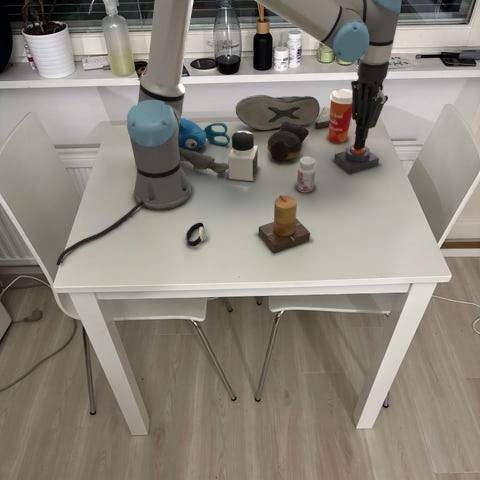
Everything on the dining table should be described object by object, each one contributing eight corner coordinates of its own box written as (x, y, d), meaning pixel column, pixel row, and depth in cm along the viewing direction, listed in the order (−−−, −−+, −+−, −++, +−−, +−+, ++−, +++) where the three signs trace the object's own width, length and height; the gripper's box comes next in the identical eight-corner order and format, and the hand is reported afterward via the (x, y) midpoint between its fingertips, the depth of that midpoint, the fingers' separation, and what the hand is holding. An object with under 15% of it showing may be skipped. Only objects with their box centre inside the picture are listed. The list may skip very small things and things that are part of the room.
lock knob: (298, 232, 114) (301, 203, 108) (280, 238, 113) (281, 209, 107) (288, 220, 118) (290, 192, 111) (269, 226, 116) (270, 198, 110)
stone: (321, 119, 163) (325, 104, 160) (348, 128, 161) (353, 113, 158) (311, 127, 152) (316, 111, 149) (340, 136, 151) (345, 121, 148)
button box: (349, 173, 135) (351, 161, 132) (333, 160, 140) (335, 148, 137) (378, 164, 138) (380, 152, 135) (361, 152, 143) (364, 140, 140)
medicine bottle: (253, 181, 134) (253, 141, 125) (228, 179, 135) (227, 139, 126) (257, 168, 138) (258, 128, 129) (234, 166, 139) (232, 126, 130)
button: (355, 160, 135) (356, 153, 134) (347, 153, 138) (348, 147, 136) (367, 156, 137) (368, 149, 135) (358, 150, 139) (360, 143, 137)
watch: (202, 249, 115) (201, 237, 112) (183, 247, 115) (182, 235, 113) (208, 230, 120) (208, 218, 117) (190, 228, 120) (189, 216, 118)
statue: (139, 158, 143) (225, 193, 136) (136, 135, 137) (226, 170, 130) (153, 146, 147) (237, 180, 140) (151, 124, 141) (239, 157, 134)
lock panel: (275, 255, 113) (275, 246, 111) (257, 233, 119) (257, 224, 117) (310, 242, 116) (311, 233, 114) (291, 221, 121) (292, 213, 119)
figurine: (291, 169, 138) (307, 145, 148) (295, 147, 133) (312, 124, 142) (260, 158, 140) (278, 136, 149) (264, 137, 135) (282, 115, 144)
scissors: (226, 122, 142) (172, 122, 151) (224, 124, 141) (170, 124, 150) (231, 143, 146) (178, 142, 155) (229, 145, 146) (177, 144, 155)
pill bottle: (293, 190, 131) (295, 162, 124) (300, 181, 133) (302, 154, 127) (309, 194, 129) (312, 166, 123) (316, 185, 132) (319, 158, 125)
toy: (211, 127, 148) (200, 157, 152) (156, 102, 145) (146, 133, 149) (208, 132, 137) (196, 165, 142) (148, 105, 134) (138, 139, 139)
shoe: (236, 131, 151) (231, 120, 160) (318, 128, 154) (309, 117, 164) (236, 97, 145) (231, 87, 154) (322, 94, 148) (312, 84, 157)
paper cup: (320, 136, 150) (325, 91, 139) (341, 130, 152) (347, 85, 141) (333, 147, 145) (340, 101, 135) (354, 141, 147) (362, 96, 137)
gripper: (403, 65, 115) (383, 154, 133) (370, 48, 123) (356, 134, 140) (378, 72, 113) (361, 161, 131) (346, 54, 121) (335, 140, 138)
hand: (358, 147), depth 135 cm, fingers closed
